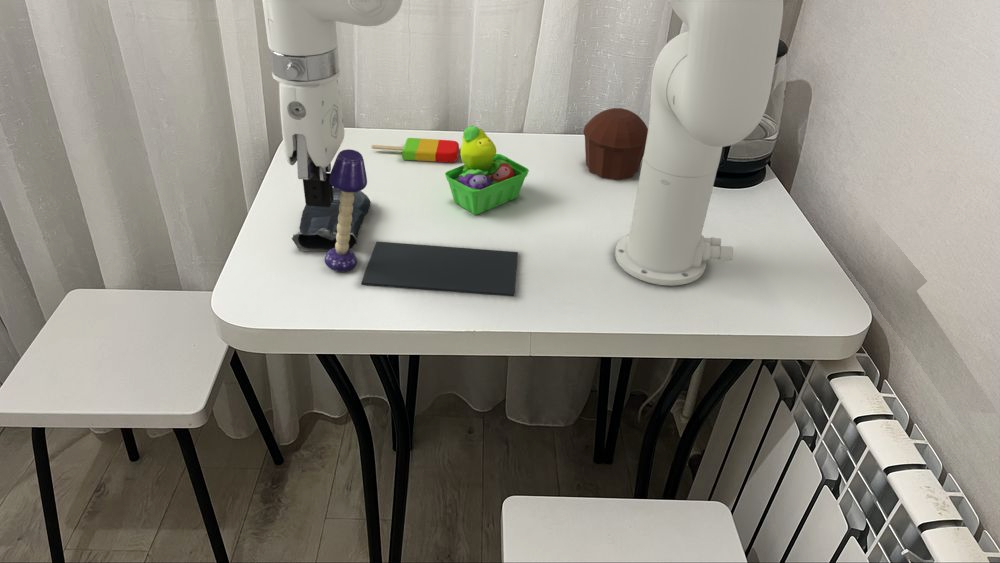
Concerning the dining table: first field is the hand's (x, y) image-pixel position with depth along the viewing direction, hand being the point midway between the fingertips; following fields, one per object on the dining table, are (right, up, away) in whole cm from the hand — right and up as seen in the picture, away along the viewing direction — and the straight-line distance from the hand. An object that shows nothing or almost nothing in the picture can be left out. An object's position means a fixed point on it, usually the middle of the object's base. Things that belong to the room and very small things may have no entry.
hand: (319, 203), depth 95 cm
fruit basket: (+20, +3, +22) cm, 30 cm away
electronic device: (-1, -2, +14) cm, 14 cm away
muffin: (+42, +9, +33) cm, 54 cm away
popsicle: (+8, +12, +34) cm, 37 cm away
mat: (+15, -8, +6) cm, 18 cm away
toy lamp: (+1, -8, +5) cm, 9 cm away
